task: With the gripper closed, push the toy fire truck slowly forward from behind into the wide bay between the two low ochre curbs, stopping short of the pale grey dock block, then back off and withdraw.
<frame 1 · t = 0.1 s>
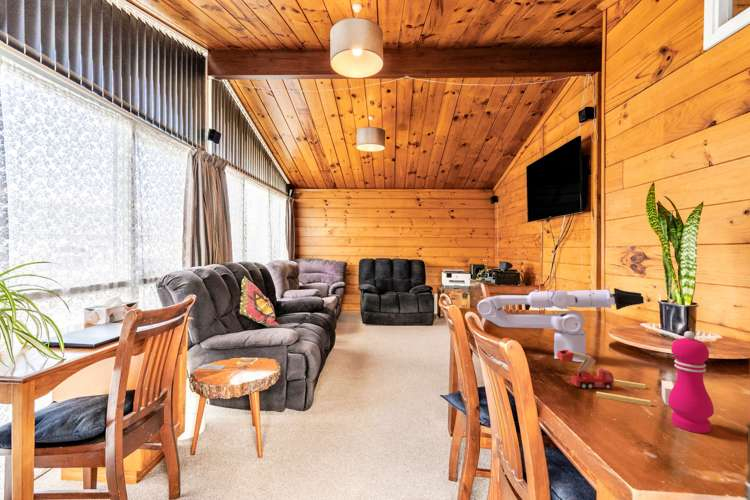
hand: (642, 298, 112), 22 cm above the table, tool horizontal, fingers open, 7 cm apart
toy fire truck: (585, 387, 98), on the table
pepper mill: (690, 426, 76), on the table
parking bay: (621, 392, 94), on the table
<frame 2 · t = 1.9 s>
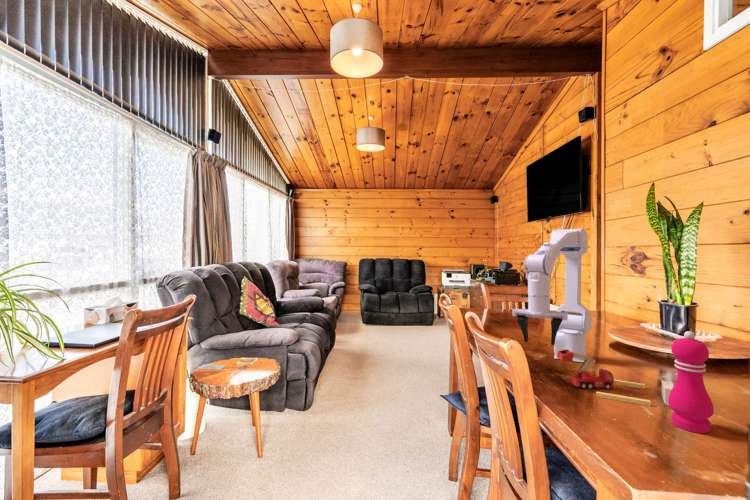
hand: (539, 342, 104), 10 cm above the table, tool pointing down, fingers open, 6 cm apart
nothing on the table moved.
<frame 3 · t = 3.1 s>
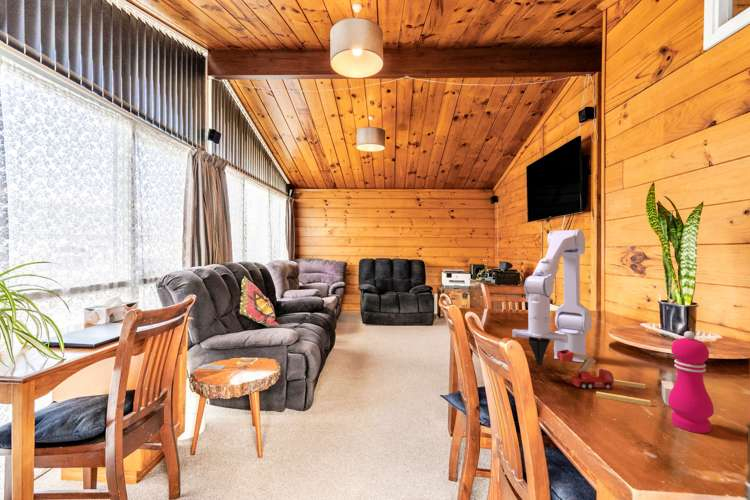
hand: (539, 364, 104), 4 cm above the table, tool pointing down, fingers closed
nothing on the table moved.
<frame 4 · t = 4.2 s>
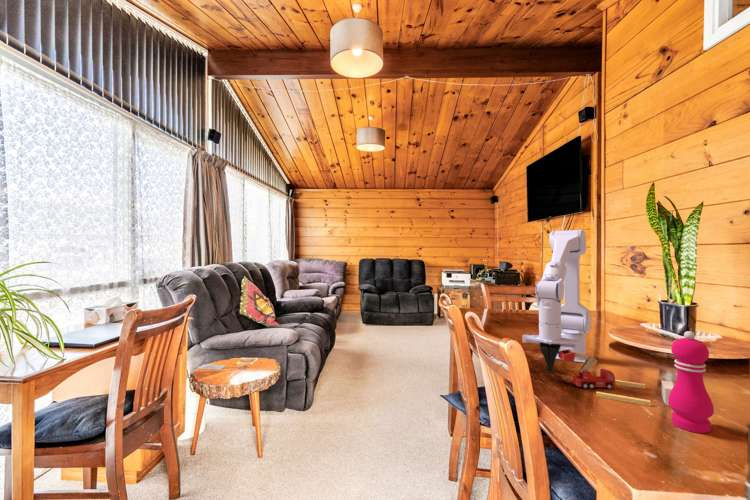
hand: (550, 370, 103), 3 cm above the table, tool pointing down, fingers closed
toy fire truck: (587, 387, 98), on the table, touching gripper
everything else where it was.
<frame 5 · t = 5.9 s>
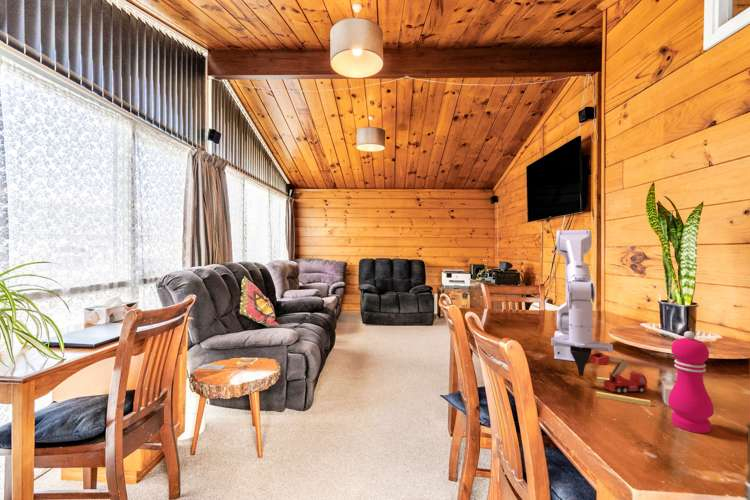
hand: (581, 374, 99), 3 cm above the table, tool pointing down, fingers closed
toy fire truck: (619, 391, 95), on the table, touching gripper, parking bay
everything else where it was.
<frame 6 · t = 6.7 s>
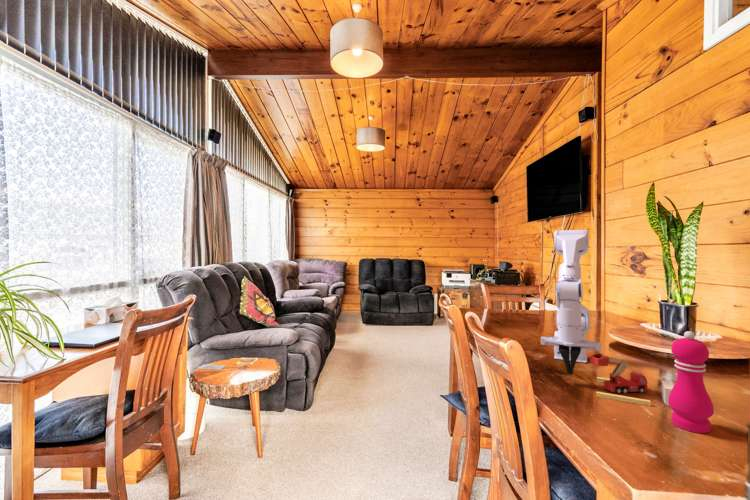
hand: (570, 373, 100), 3 cm above the table, tool pointing down, fingers closed
toy fire truck: (619, 391, 95), on the table
everything else where it was.
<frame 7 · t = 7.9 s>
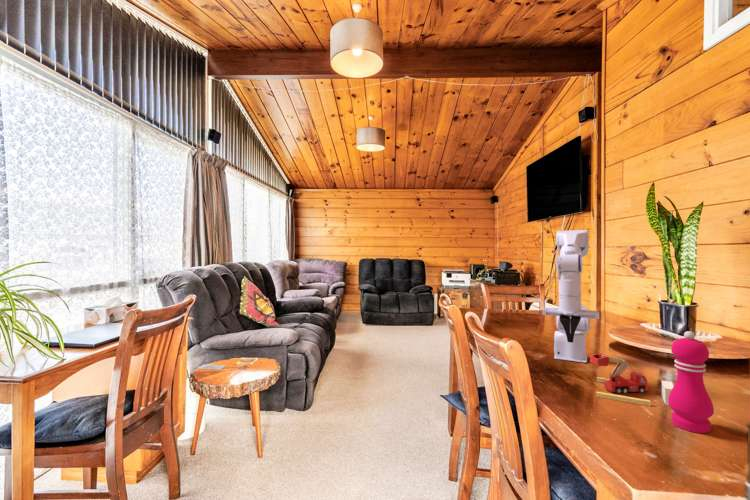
hand: (570, 341, 106), 10 cm above the table, tool pointing down, fingers closed
nothing on the table moved.
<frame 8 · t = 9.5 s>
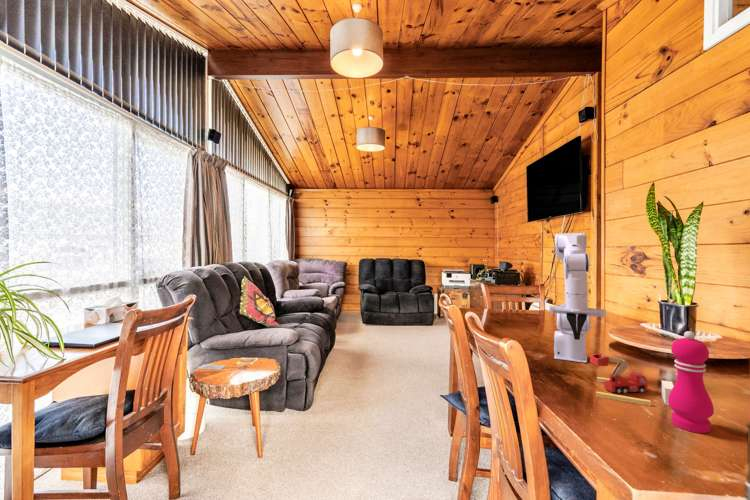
hand: (577, 338, 108), 10 cm above the table, tool pointing down, fingers closed
nothing on the table moved.
at the end: toy fire truck inside the target area on the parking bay (0.9 cm from its centre), point 0.0 cm above the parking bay's base; toy fire truck tilted 0°; toy fire truck moved 7.6 cm from its start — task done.
